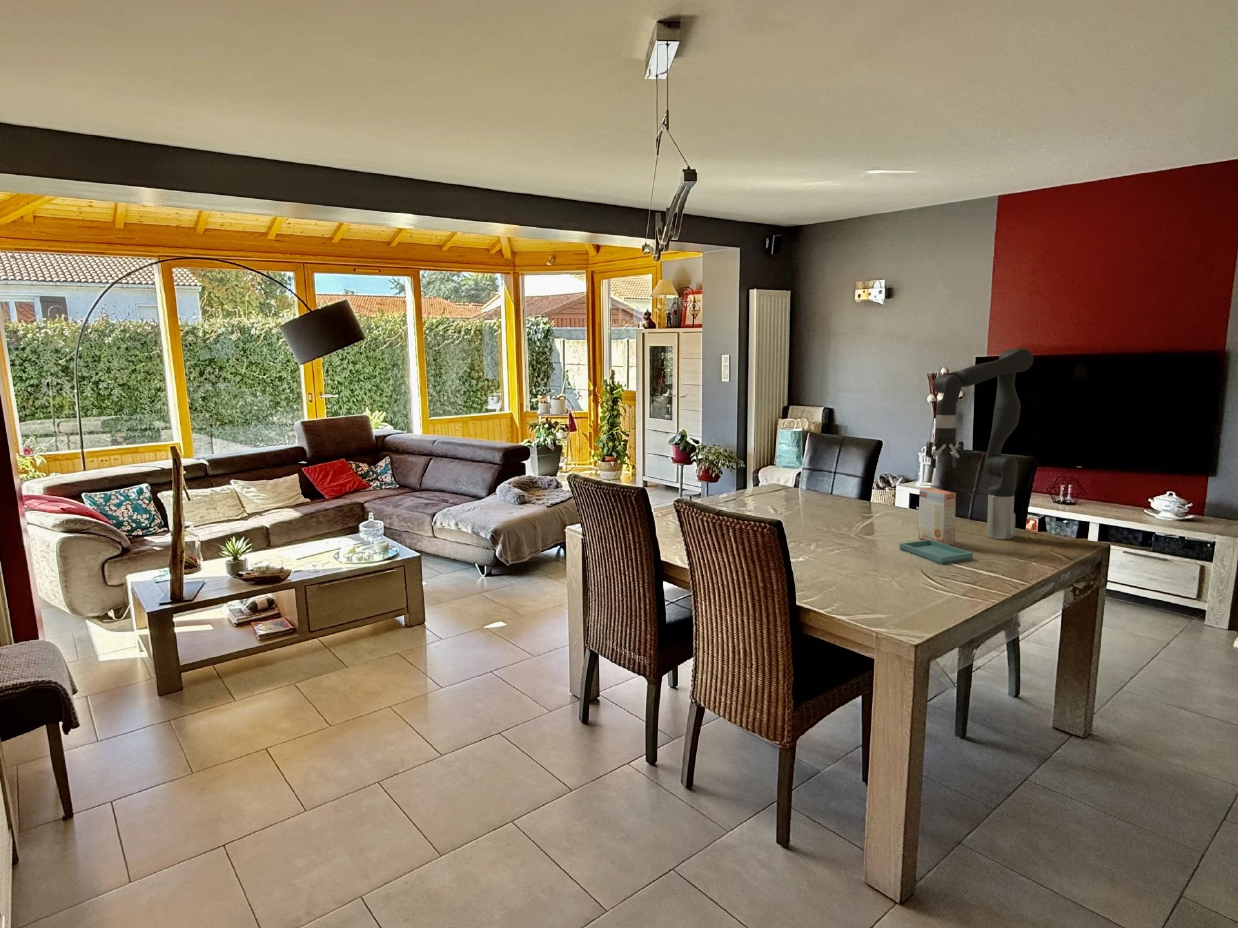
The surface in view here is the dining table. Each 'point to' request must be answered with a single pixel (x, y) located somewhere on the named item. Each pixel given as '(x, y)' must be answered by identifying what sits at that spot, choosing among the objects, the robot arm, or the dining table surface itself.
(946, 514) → the cracker box
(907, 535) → the dining table surface
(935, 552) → the teal tray
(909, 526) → the dining table surface
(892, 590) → the dining table surface
